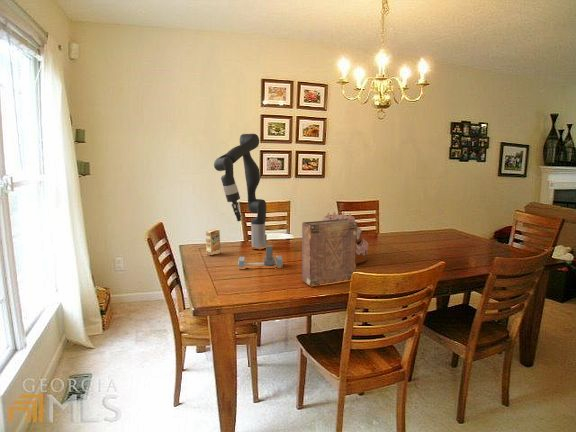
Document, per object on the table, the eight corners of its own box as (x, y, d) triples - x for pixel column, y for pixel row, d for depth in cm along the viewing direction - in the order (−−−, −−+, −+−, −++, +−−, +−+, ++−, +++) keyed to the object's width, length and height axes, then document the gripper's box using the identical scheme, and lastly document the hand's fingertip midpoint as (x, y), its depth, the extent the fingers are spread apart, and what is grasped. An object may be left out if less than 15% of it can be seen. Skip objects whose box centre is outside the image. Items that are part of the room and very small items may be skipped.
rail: (238, 269, 201) (237, 261, 201) (238, 265, 209) (238, 256, 208) (283, 268, 204) (283, 259, 203) (282, 264, 212) (282, 255, 211)
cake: (367, 269, 203) (369, 219, 198) (305, 265, 210) (305, 217, 205) (367, 252, 237) (369, 209, 232) (313, 249, 244) (313, 208, 239)
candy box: (211, 256, 228) (210, 232, 225) (206, 255, 230) (205, 231, 227) (220, 253, 235) (220, 229, 233) (215, 252, 238) (214, 228, 235)
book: (345, 275, 192) (347, 218, 187) (355, 280, 184) (357, 221, 179) (301, 282, 182) (302, 222, 178) (310, 288, 174) (310, 225, 169)
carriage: (264, 266, 204) (264, 247, 202) (263, 263, 209) (263, 244, 208) (275, 265, 204) (275, 247, 202) (274, 262, 210) (274, 244, 208)
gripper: (238, 192, 202) (246, 220, 206) (238, 188, 216) (245, 214, 220) (224, 196, 202) (233, 224, 206) (225, 192, 215) (233, 218, 219)
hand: (239, 219), depth 213 cm, fingers open, 8 cm apart
